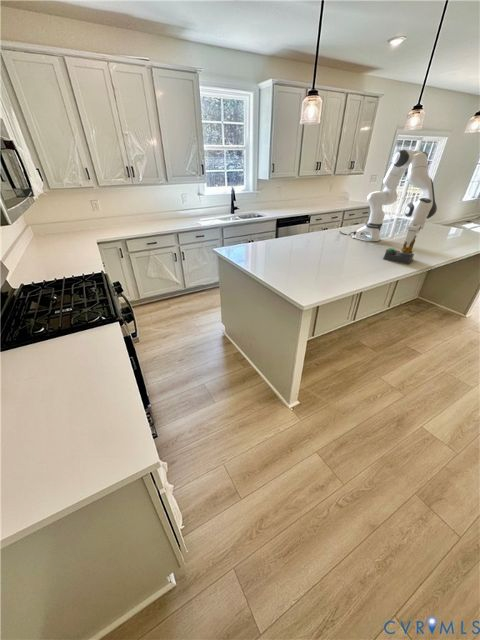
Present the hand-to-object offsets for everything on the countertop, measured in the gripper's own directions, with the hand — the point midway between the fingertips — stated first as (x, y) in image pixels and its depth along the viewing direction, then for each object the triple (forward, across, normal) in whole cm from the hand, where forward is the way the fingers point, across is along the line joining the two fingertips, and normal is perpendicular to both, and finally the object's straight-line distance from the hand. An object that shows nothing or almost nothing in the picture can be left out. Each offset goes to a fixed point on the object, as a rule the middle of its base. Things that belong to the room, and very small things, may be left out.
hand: (408, 245), depth 179 cm
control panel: (+10, +1, -4) cm, 11 cm away
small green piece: (+5, +4, -9) cm, 11 cm away
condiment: (+5, -1, 0) cm, 5 cm away
